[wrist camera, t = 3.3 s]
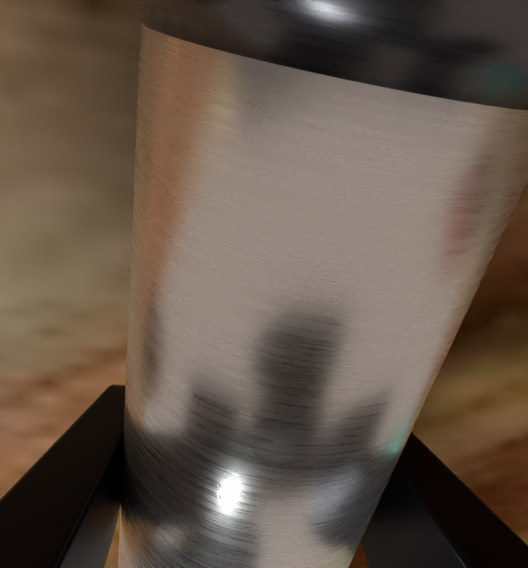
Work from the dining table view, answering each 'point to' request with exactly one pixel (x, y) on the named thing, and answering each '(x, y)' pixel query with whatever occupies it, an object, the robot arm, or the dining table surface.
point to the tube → (303, 259)
